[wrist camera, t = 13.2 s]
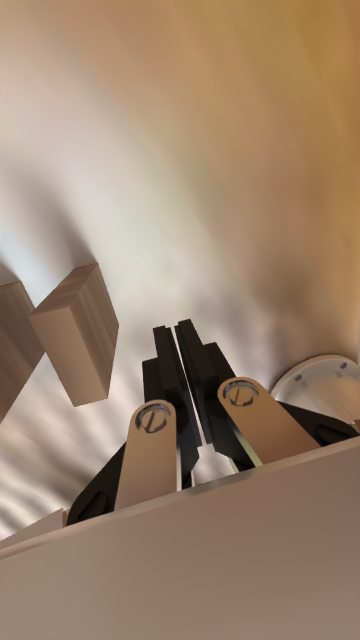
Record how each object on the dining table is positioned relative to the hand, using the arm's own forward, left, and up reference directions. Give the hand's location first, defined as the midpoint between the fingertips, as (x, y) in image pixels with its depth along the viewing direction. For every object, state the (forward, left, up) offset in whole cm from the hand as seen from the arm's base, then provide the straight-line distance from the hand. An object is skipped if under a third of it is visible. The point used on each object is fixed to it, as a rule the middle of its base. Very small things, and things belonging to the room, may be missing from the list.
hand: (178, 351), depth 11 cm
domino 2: (+6, +1, -13) cm, 14 cm away
